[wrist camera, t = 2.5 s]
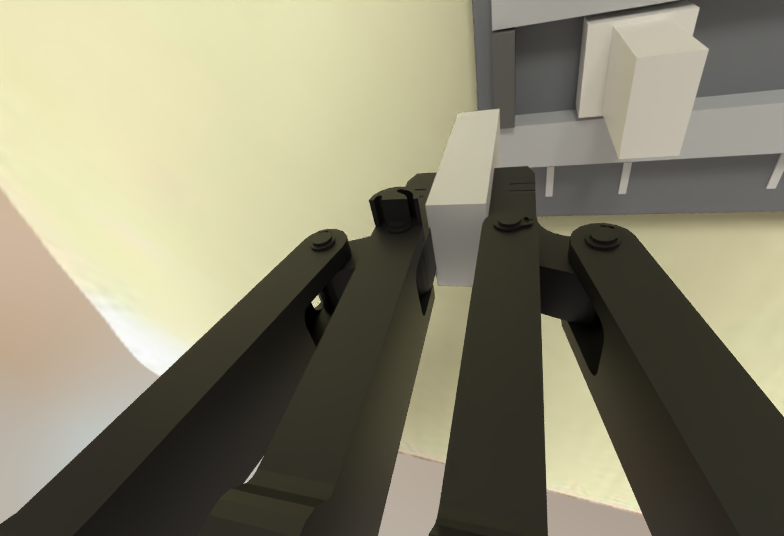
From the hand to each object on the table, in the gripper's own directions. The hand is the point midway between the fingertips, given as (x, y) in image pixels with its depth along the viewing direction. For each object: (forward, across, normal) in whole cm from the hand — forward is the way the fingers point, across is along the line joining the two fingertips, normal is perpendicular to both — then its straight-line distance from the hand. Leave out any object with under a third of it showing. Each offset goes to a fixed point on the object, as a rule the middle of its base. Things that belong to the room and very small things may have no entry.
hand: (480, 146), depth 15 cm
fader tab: (+8, +6, 0) cm, 10 cm away
